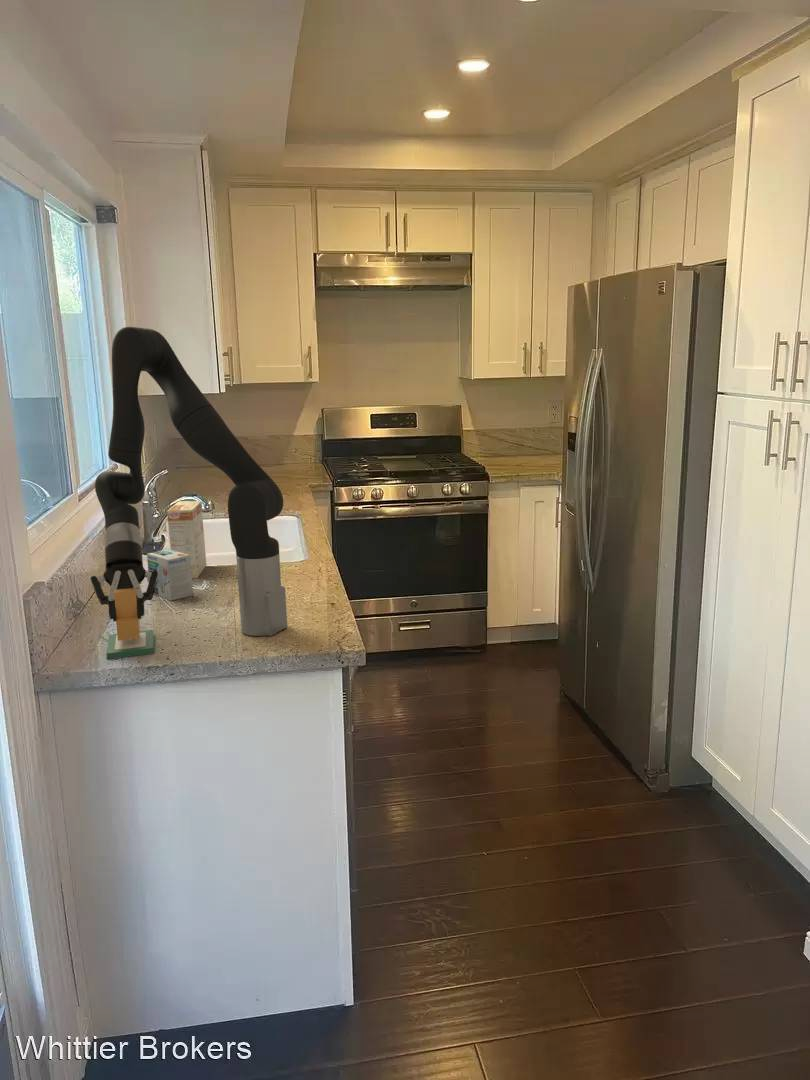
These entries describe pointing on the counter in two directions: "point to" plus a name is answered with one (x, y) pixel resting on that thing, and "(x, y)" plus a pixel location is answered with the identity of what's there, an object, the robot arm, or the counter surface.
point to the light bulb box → (171, 573)
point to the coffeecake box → (188, 533)
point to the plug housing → (126, 614)
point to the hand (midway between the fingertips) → (127, 618)
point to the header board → (130, 645)
